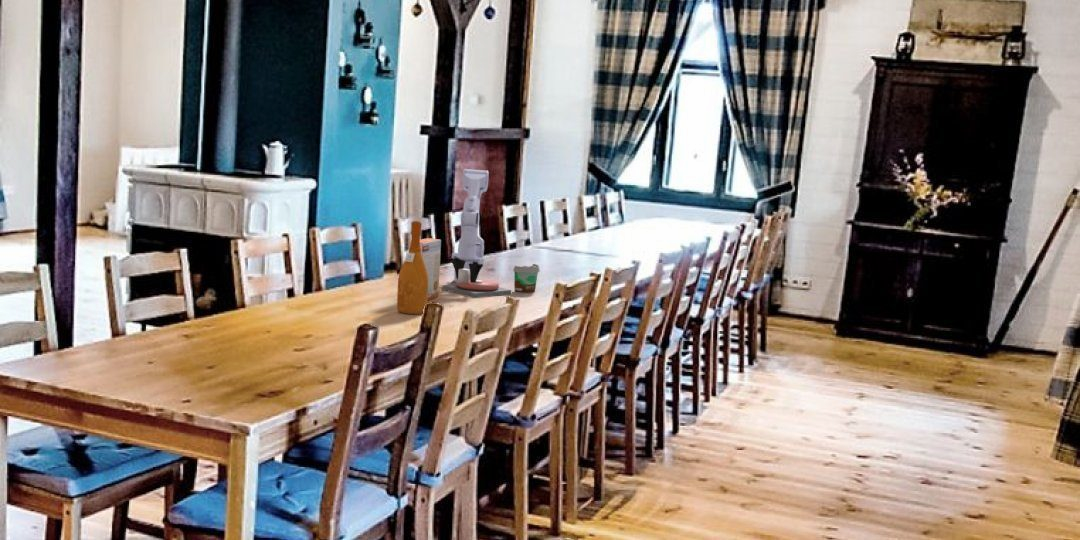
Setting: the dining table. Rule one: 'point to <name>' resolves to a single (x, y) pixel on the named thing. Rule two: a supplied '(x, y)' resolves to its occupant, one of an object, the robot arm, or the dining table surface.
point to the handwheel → (478, 285)
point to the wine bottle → (413, 277)
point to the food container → (525, 278)
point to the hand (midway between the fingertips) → (466, 280)
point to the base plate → (476, 291)
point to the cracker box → (431, 264)
